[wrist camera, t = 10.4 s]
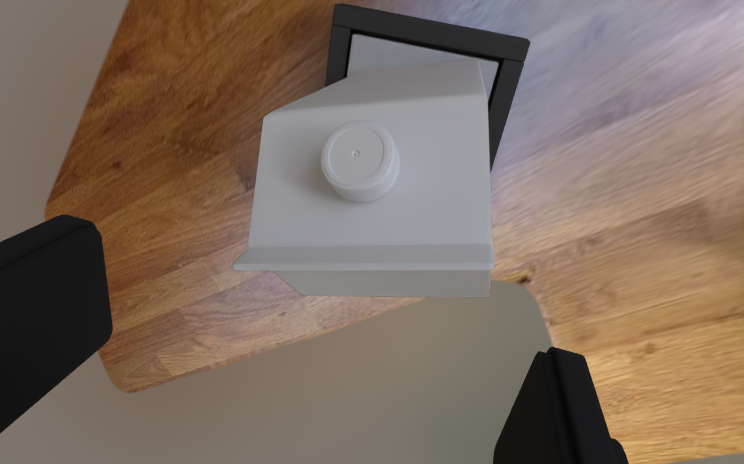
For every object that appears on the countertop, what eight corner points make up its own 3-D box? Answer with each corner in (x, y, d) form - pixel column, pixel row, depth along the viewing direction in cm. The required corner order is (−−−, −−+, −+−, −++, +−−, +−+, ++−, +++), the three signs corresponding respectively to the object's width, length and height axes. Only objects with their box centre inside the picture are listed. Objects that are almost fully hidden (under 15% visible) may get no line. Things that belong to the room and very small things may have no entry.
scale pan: (497, 60, 28) (498, 62, 26) (460, 193, 32) (459, 201, 30) (357, 33, 28) (352, 33, 27) (339, 165, 33) (333, 172, 31)
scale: (524, 38, 29) (532, 40, 26) (475, 203, 35) (475, 223, 31) (349, 4, 30) (333, 2, 27) (328, 169, 36) (312, 185, 32)
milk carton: (480, 172, 29) (494, 378, 12) (374, 178, 31) (258, 367, 14) (478, 57, 26) (493, 119, 9) (361, 69, 28) (196, 141, 11)
